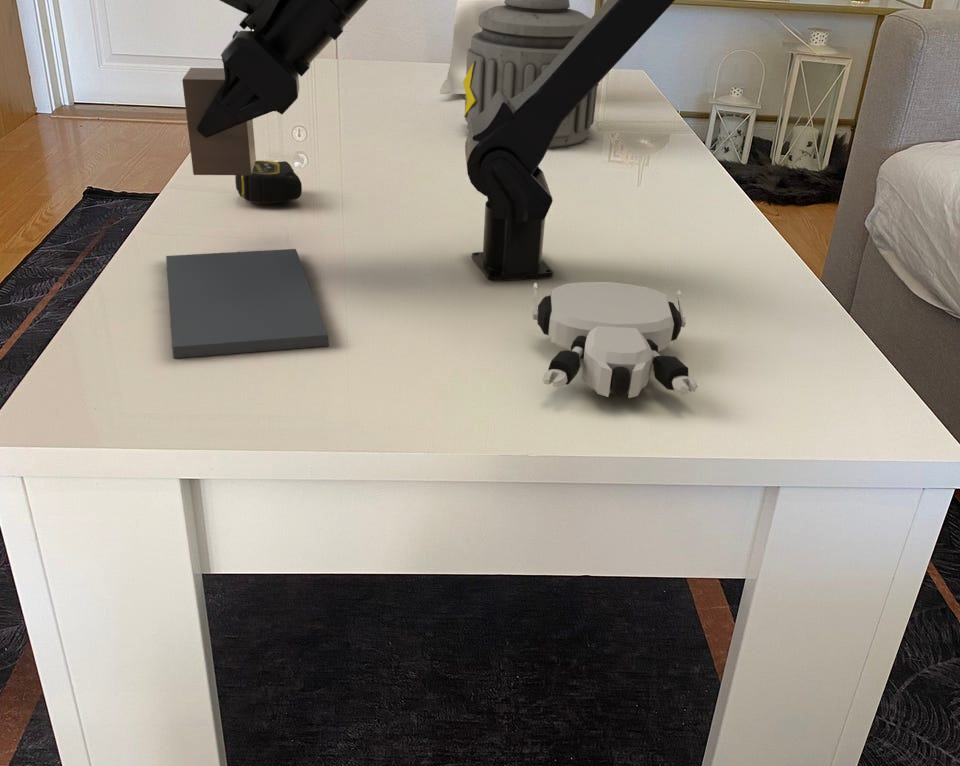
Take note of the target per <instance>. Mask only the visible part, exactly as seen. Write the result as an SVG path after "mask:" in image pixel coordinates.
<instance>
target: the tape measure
mask: <svg viewBox="0 0 960 766" xmlns="http://www.w3.org/2000/svg"><path fill="white" fill-rule="evenodd" d="M234 177H235V188H236V191H237V193H238V195H239V197H241V198H242V199H244V200H246V201H248V202H251V203H255V205H259V204H276V203H282V202H289V201H294V200H297V199H299V198H301V196H302V193H303V185H302V184H303V183H302V181H301V179H300V178H299V176H298V175H297V174H296V172H295V171H294V169H293V167H292V166H291V164H290V162H288V161H285V160H282V161H272V160H270V161H269V160H256V161H255V164H254V168H253V171H252V174H251V175H234Z"/></svg>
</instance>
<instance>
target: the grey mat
mask: <svg viewBox="0 0 960 766" xmlns="http://www.w3.org/2000/svg"><path fill="white" fill-rule="evenodd" d="M165 260H166V261H165V262H166V275H167V291H168V304H169V320H170V332H171V333H170V334H171V335H170V336H171V348H172V349H171V350H172V356H173V359H182V358H194V357H206V356H208V357H209V356H220V355H232V354H243V353H244V354H245V353H257V352H266V351H267V352H269V351H281V350H293V349H305V348H318V347H319V348H320V347H330V346H329V345H330V342H329V341H330V340H329V333H328V331H327V328H326V325H325V322H324V320H323V317H322V314H321V312H320V309H319V306H318V304H317V301H316V298H315V296H314V293H313V290H312V288H311V286H310V283H309V280H308V278H307V275H306V272H305V269H304V267H303V264H302V261H301V258H300V257H299V254H298V251H297V249H296V248H287V249H284V248H283V249H270V250H268V249H267V250H266V249H265V250H250V251H249V250H248V251H232V252H231V251H230V252H213V253H212V252H211V253H196V254H195V253H193V254H177V255H176V254H175V255H174V254H173V255H166V256H165Z"/></svg>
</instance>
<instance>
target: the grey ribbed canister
mask: <svg viewBox="0 0 960 766" xmlns="http://www.w3.org/2000/svg"><path fill="white" fill-rule="evenodd" d="M504 3H505V4H506V5H501V6H495V7H491V8H489V9H487V10H485V11H483V12H481V14H480V15H479V22H478V25H479V26H480V27H481V28H482V32H478V33H475V34H474V35H473V36H472V38H471V48H470V49H468V51H467V67H466V77H465V79H464V81H463V85H464V89H465V93H466V94H464V95H465V96H464V99H465V100H464V102H465V103H464V115H463V117H464V119H465V121H466V123H467V129H468V130H469V132H470V131H471V126H470V119H472V118H474V117H476V116H478V115H479V114H480V113H482V112H483V111H484V110H485V108H486V107H487V106H488V104H489V103H490V101H491V99H492V98H493V96H494V95H495V93H496V92H497V91H498V89H501V90H502V91H503V92H504V94H505V95H506V97H507V98H508V99H509V100H510V99H511V98H513V97H515V96H516V95H518V94H519V93H521V92H523V91H524V90H526V89H527V88H528V87H530V86H531V85H532V84H533V83H534V82H535V80H536V79H537V78H538V77H539V76H540V75H541V74H542V73H543V71H544V70H545V69H546V68H547V67H548V66H549V65H550V64H551V63H552V61H553V60H554V59H555V58H556V57H557V56H558V55H559V54H560V52H561V51H562V50H563V49H564V48H565V47H566V46H567V45H568V44H569V42H570V41H571V40H572V39H573V38H574V37H575V36H576V35H577V33H578V32H579V31H580V30H581V29H582V28H583V27H584V26H585V25H586V23H587V22H588V21H589V20H590V19H591V18H592V17H591V18H590V17H589V16H587V15H586V14H584V12H583V13H582V12H581V11H579V10H576V9H572V8H570V7H571V5H570V0H505V2H504ZM599 85H600V83H598V84H597V85H596V86H595V87H594V88H593V89H592V90H591V92H590V93H589V94H588V95H587V96H586V97H585V98H584V99H583V100H582V101H581V102H580V103H579V105H578V106H577V107H576V108H575V109H574V110H573V111H572V112H571V113H570V114H569V115H568V116H567V118H566V119H565V120H564V121H563V122H562V123H561V125H560V127H559V128H558V130H557V132H556V134H555V136H554V138H553V140H552V142H551V144H550V146H549V148H548V149H555V148H565V147H570V146H573V145H577V144H580V143H581V142H583V141H584V140H586V139H587V138H588V137H589V131H590V129H591V127H592V125H594V121H595V112H596V103H597V92H598V86H599Z"/></svg>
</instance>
